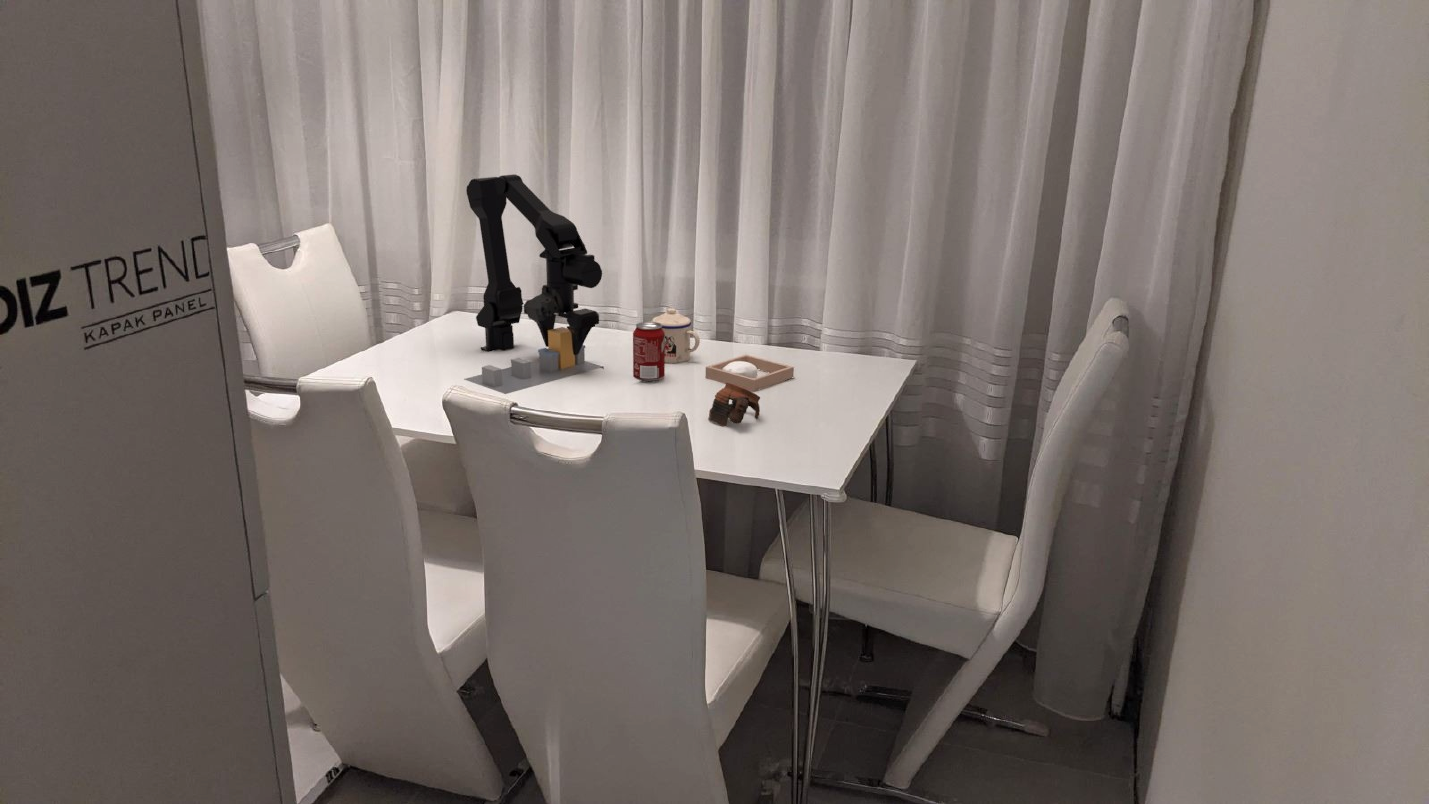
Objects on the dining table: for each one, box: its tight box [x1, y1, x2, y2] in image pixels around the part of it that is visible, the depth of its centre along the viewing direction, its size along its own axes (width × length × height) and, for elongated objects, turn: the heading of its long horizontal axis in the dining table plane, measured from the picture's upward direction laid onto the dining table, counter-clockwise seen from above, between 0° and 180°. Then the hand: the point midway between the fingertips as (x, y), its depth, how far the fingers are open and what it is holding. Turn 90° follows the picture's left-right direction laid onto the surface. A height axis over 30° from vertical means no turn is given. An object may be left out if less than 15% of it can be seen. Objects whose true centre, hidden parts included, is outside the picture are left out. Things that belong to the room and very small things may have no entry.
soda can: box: [632, 321, 666, 383], centre depth 228 cm, size 7×7×12 cm
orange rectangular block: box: [548, 326, 575, 369], centre depth 234 cm, size 4×4×8 cm
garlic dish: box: [705, 354, 795, 393], centre depth 232 cm, size 14×14×2 cm
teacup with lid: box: [651, 307, 701, 364], centre depth 243 cm, size 12×9×12 cm
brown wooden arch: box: [707, 383, 761, 427], centre depth 205 cm, size 12×10×8 cm
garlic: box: [722, 361, 759, 379], centre depth 231 cm, size 8×7×4 cm
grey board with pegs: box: [463, 344, 605, 395], centre depth 229 cm, size 14×27×5 cm, turn 139°
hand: (561, 350), depth 234 cm, fingers open, 9 cm apart
